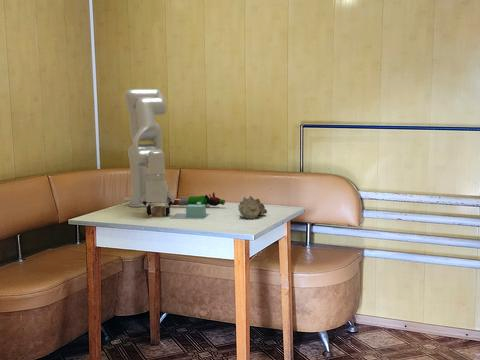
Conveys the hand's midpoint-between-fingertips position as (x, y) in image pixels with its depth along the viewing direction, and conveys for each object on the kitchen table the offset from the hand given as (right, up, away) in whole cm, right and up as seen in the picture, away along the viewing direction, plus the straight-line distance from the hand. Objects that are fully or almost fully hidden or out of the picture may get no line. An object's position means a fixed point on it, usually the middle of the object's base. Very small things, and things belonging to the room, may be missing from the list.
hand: (158, 215), depth 277 cm
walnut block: (0, -1, 0) cm, 1 cm away
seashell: (+43, -1, -3) cm, 44 cm away
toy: (+15, +2, +23) cm, 27 cm away
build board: (+15, -1, -3) cm, 15 cm away
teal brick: (+18, 0, -3) cm, 18 cm away
